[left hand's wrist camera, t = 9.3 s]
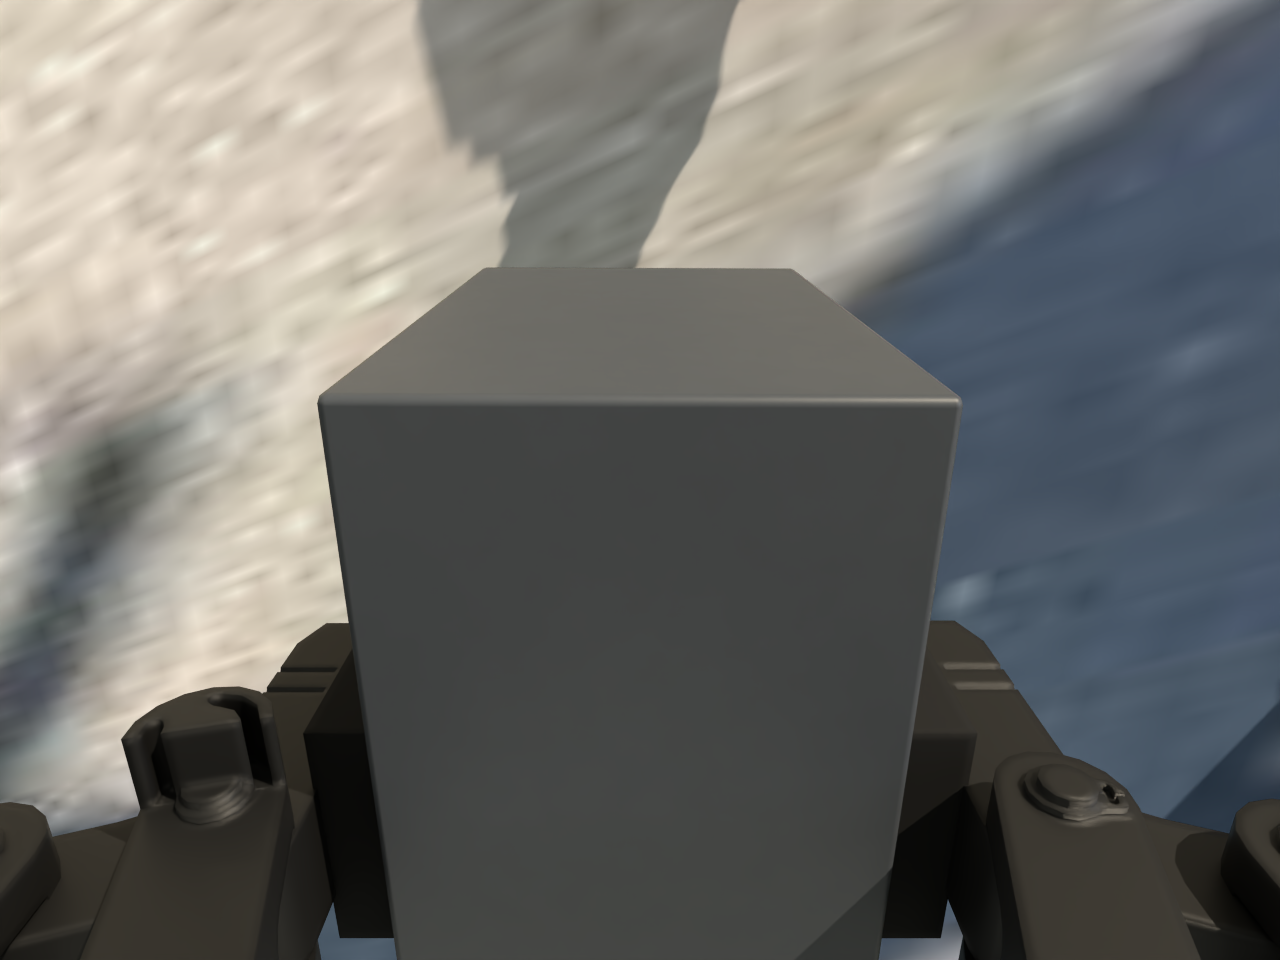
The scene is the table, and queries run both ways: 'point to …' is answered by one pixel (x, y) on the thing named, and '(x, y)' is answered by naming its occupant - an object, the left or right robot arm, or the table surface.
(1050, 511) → the table surface
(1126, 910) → the left robot arm
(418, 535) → the beam
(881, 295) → the table surface
